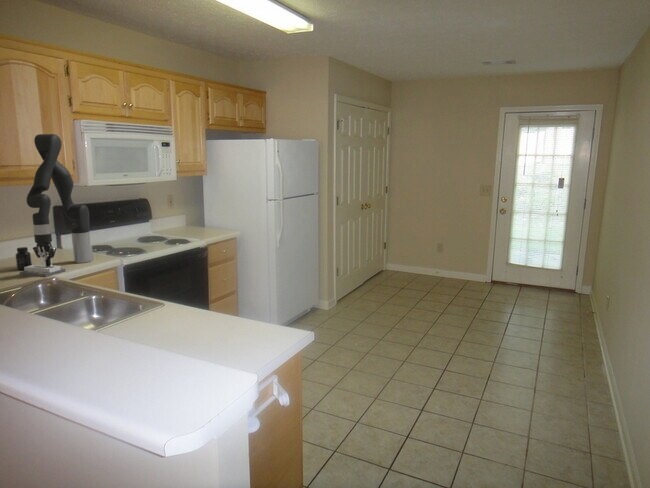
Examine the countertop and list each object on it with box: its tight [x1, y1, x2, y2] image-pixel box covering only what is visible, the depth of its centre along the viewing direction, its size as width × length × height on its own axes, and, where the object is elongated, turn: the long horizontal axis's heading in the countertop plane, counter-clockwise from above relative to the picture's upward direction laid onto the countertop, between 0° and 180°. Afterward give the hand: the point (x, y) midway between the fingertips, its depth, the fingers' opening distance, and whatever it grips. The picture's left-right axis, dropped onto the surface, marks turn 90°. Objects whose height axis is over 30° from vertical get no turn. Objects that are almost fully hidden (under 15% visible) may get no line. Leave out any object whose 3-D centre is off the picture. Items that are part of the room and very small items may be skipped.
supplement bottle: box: [15, 246, 33, 271], centre depth 243 cm, size 7×7×12 cm
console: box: [19, 264, 66, 278], centre depth 234 cm, size 12×17×4 cm
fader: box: [39, 256, 53, 268], centre depth 232 cm, size 4×4×8 cm
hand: (46, 265), depth 232 cm, fingers closed on fader, 2 cm apart
